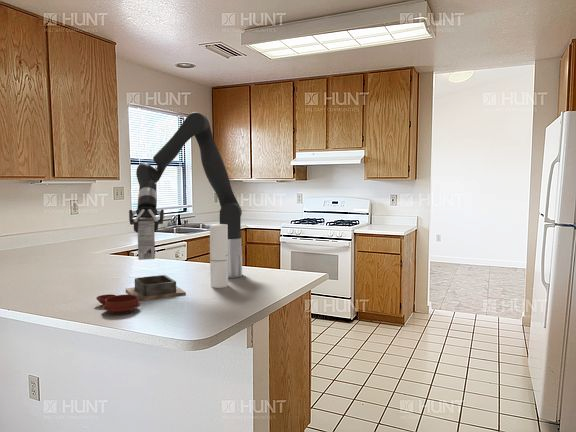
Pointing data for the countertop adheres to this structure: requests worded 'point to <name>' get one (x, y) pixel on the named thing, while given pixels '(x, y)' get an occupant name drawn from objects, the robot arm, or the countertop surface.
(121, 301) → the pottery
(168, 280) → the docking cradle
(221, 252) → the cylindrical container
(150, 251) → the coffee box
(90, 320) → the countertop surface
